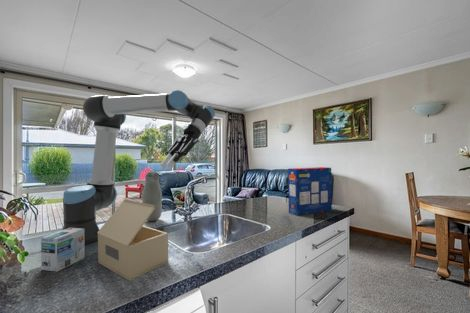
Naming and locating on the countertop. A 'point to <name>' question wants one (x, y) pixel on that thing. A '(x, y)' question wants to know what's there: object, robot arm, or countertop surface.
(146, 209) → the carton flap
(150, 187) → the grey vase
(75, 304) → the countertop surface
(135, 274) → the carton
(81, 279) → the countertop surface
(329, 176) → the blue product box
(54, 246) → the light bulb box
